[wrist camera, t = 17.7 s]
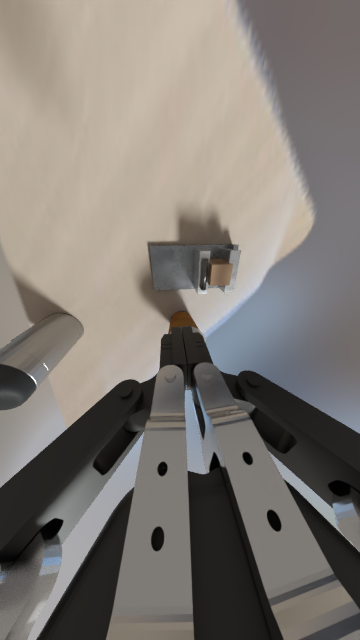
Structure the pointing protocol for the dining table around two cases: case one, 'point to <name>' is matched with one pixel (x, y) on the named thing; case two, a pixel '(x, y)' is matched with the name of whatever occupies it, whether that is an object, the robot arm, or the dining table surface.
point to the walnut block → (219, 272)
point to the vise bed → (188, 265)
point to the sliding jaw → (201, 270)
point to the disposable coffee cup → (184, 322)
